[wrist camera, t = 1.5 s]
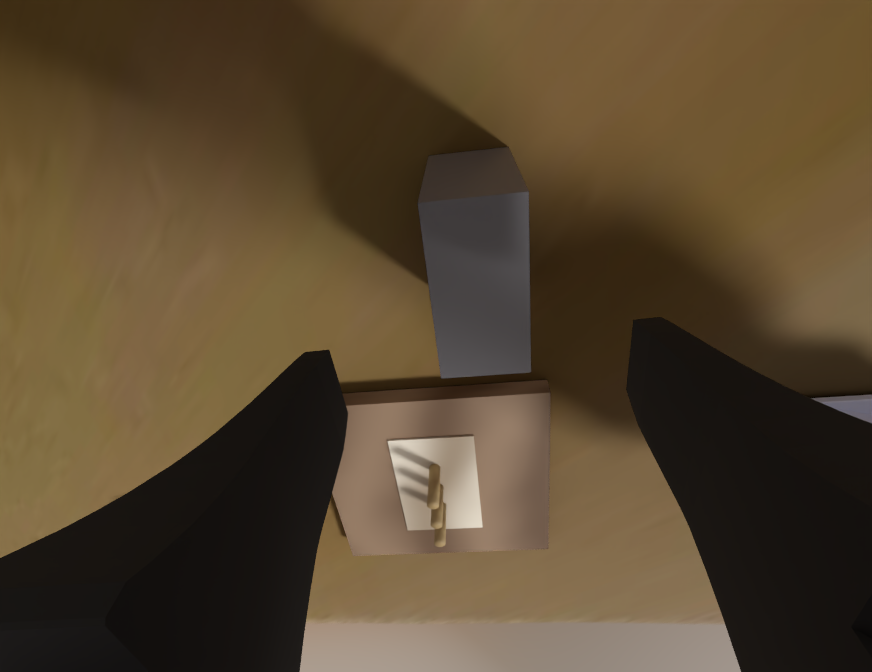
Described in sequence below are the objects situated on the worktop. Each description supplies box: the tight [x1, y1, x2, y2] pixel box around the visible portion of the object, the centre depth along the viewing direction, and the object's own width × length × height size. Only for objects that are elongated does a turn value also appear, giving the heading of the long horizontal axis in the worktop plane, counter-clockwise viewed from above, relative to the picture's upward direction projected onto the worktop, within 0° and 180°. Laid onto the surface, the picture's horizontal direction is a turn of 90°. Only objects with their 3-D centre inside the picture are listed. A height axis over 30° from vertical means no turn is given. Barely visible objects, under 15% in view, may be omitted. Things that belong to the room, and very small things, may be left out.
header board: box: [332, 380, 551, 556], centre depth 26 cm, size 12×12×4 cm
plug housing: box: [418, 147, 531, 379], centre depth 17 cm, size 3×6×6 cm, turn 6°
